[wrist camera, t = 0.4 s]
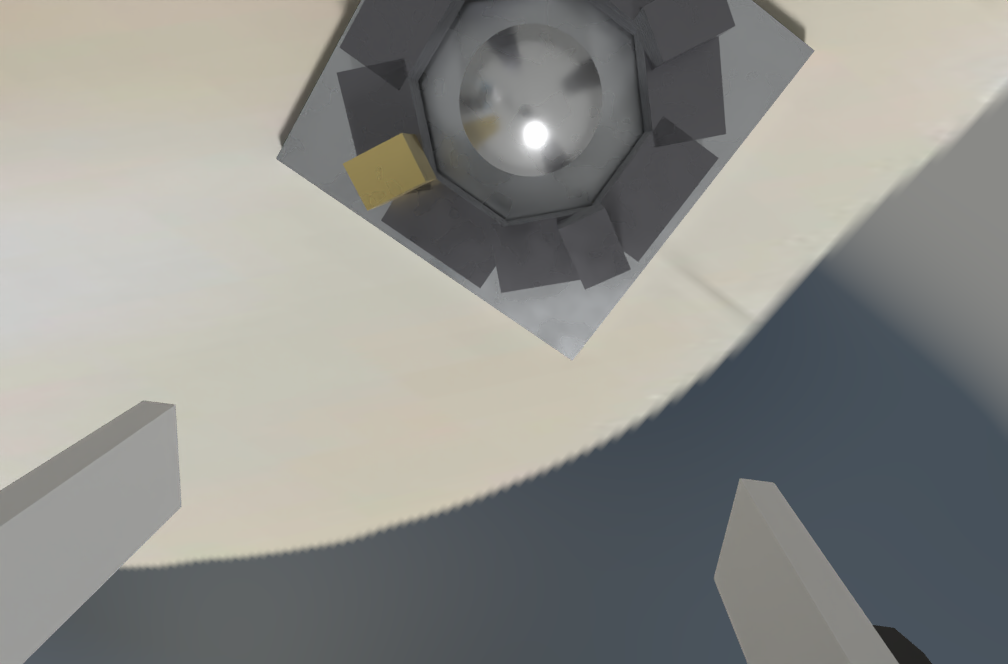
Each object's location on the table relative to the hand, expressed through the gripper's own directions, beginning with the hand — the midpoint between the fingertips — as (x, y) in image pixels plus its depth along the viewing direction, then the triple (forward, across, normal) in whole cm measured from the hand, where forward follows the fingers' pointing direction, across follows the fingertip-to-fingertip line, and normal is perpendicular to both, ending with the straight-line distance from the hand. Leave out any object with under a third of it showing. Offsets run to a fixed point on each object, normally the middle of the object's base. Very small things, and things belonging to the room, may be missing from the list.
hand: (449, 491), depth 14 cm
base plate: (+24, 0, +10) cm, 26 cm away
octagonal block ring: (+22, 0, +10) cm, 24 cm away
